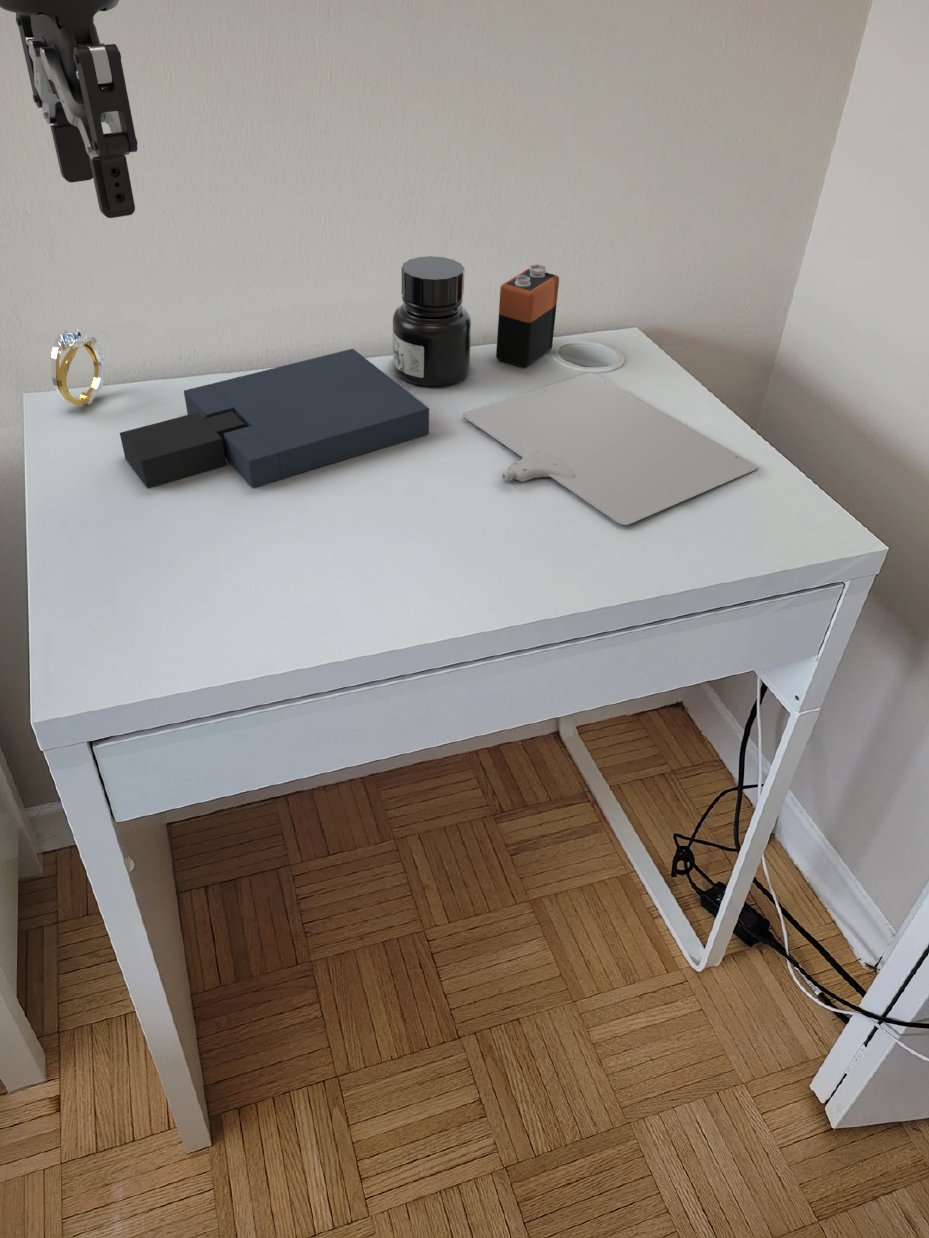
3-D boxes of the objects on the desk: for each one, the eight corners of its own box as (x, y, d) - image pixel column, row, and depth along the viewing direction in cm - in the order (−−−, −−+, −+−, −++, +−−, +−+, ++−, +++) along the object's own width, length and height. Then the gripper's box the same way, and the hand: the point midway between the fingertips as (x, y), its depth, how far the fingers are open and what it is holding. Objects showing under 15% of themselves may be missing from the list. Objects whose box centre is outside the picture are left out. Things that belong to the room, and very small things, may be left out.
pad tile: (147, 488, 90) (141, 461, 88) (125, 459, 93) (119, 432, 91) (254, 457, 95) (251, 430, 93) (229, 430, 98) (226, 404, 96)
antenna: (429, 428, 100) (429, 418, 99) (591, 377, 112) (593, 368, 111) (591, 545, 85) (593, 535, 85) (758, 472, 97) (761, 462, 96)
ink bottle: (388, 353, 113) (386, 252, 105) (460, 350, 114) (464, 250, 107) (399, 392, 106) (398, 286, 98) (476, 388, 107) (482, 283, 99)
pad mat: (252, 488, 90) (248, 461, 88) (187, 416, 100) (183, 390, 98) (429, 434, 99) (429, 408, 97) (354, 372, 109) (352, 348, 107)
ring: (76, 420, 99) (58, 348, 93) (52, 413, 99) (32, 341, 94) (121, 392, 103) (105, 322, 98) (97, 386, 104) (81, 315, 99)
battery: (553, 349, 116) (562, 267, 109) (525, 369, 111) (532, 286, 105) (522, 340, 117) (529, 259, 111) (494, 359, 113) (499, 276, 106)
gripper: (-55, -98, 59) (16, 177, 70) (6, -71, 51) (76, 237, 61) (67, -99, 63) (116, 163, 73) (143, -74, 54) (187, 219, 65)
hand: (98, 197), depth 67 cm, fingers open, 8 cm apart
